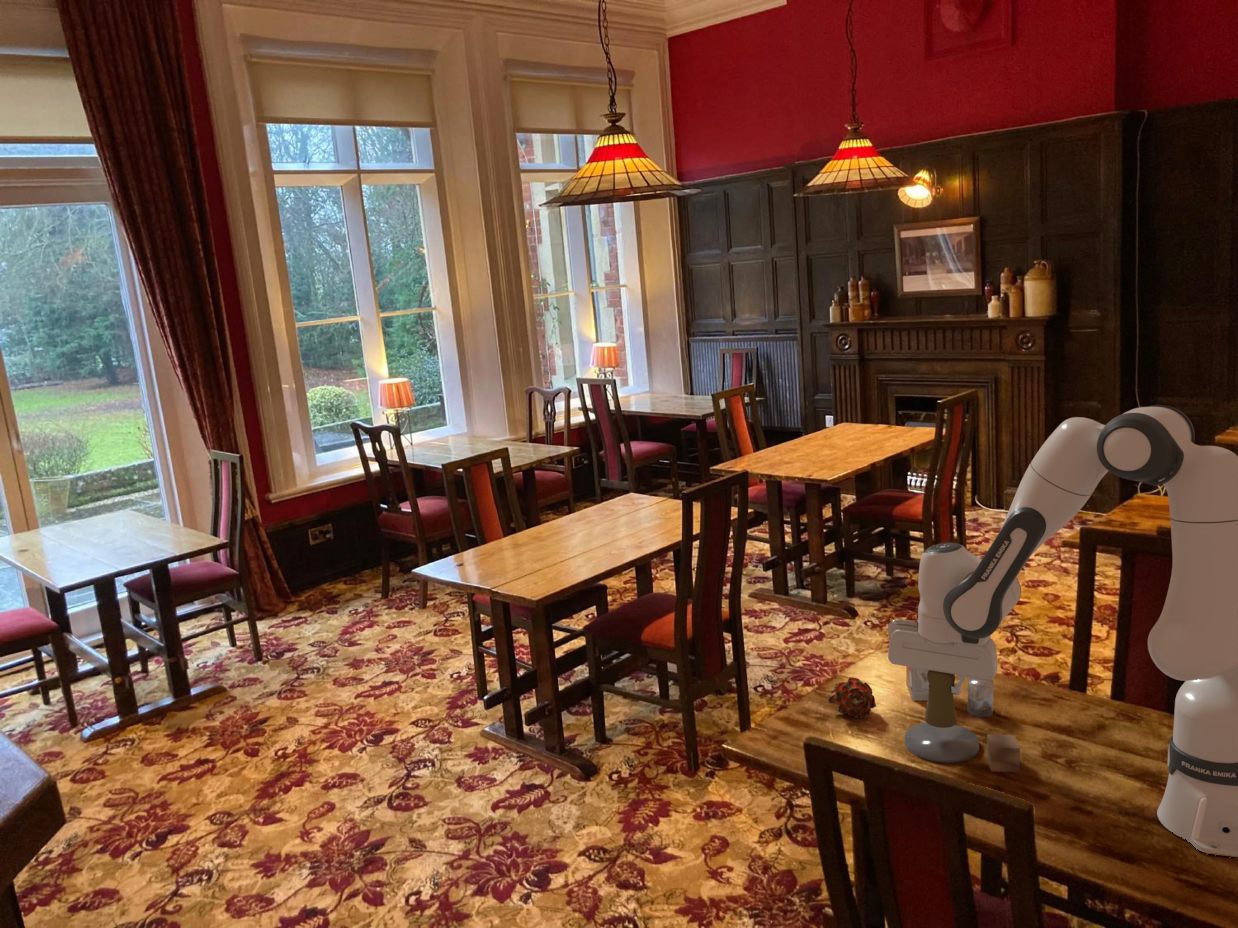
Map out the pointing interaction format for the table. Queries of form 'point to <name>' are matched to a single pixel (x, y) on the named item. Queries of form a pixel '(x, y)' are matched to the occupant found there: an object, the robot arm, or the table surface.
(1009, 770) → the light brown cube
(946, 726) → the cork
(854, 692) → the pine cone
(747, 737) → the table surface
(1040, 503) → the robot arm
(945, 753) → the smooth pebble
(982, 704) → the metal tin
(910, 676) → the small box
